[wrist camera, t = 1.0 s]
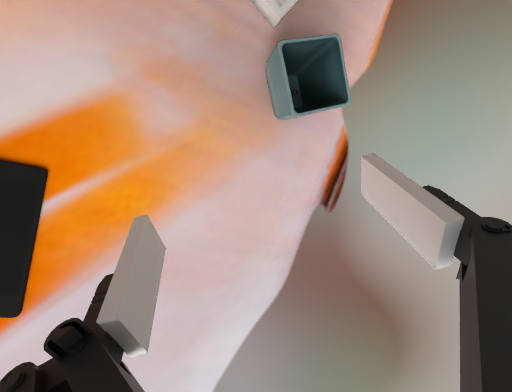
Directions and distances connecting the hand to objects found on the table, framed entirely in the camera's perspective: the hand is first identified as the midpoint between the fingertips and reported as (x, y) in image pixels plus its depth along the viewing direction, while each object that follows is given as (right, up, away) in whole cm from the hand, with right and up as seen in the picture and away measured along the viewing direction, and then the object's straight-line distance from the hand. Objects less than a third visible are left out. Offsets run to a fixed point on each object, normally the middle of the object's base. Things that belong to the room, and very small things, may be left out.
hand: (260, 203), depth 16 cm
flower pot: (+4, +16, +25) cm, 30 cm away
